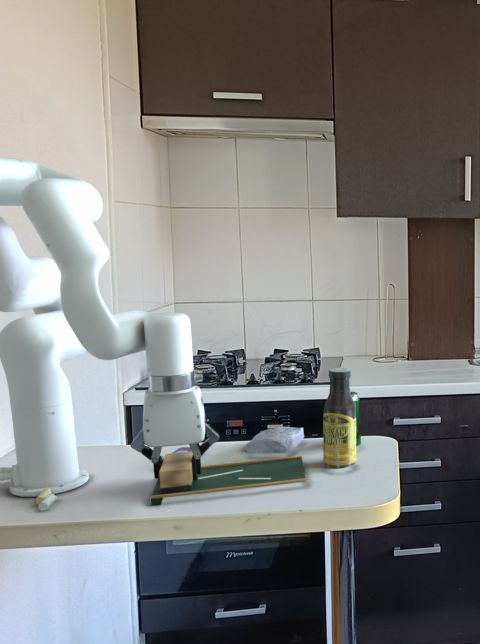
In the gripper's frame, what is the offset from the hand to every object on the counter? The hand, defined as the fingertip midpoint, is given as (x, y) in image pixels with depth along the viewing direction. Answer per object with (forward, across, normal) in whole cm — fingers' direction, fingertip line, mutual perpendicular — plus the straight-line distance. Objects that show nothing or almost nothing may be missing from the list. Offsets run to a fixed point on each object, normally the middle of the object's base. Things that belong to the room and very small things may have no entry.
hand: (178, 479), depth 136 cm
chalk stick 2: (+1, +21, +2) cm, 21 cm away
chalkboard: (+2, -9, 0) cm, 9 cm away
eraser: (+1, 0, 0) cm, 1 cm away
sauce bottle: (+2, -29, -1) cm, 29 cm away
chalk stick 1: (+1, +22, -2) cm, 22 cm away
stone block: (+2, -17, -18) cm, 25 cm away
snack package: (+2, +1, -16) cm, 16 cm away
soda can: (+2, -32, -13) cm, 35 cm away
